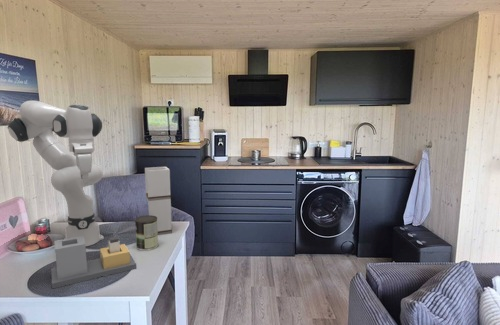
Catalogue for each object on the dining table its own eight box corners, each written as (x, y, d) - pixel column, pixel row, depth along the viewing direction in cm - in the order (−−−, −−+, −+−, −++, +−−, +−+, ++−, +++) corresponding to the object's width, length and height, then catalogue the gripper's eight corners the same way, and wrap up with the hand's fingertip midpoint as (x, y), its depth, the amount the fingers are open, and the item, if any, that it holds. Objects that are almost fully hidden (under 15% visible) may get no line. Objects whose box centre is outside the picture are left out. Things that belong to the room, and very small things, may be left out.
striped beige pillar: (168, 227, 185) (166, 166, 179) (171, 233, 175) (169, 169, 170) (147, 229, 180) (144, 167, 175) (150, 236, 170) (147, 170, 165)
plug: (109, 260, 137) (108, 237, 136) (119, 258, 139) (117, 236, 138) (111, 264, 134) (109, 240, 132) (120, 262, 136) (119, 239, 134)
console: (51, 273, 131) (48, 240, 129) (129, 256, 146) (127, 226, 144) (52, 288, 119) (48, 252, 117) (136, 268, 135) (134, 236, 132)
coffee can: (133, 251, 152) (132, 222, 150) (139, 242, 162) (138, 215, 160) (156, 250, 153) (154, 221, 151) (160, 241, 163) (159, 214, 161)
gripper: (71, 145, 135) (73, 177, 137) (74, 149, 118) (77, 186, 120) (87, 144, 138) (90, 176, 140) (93, 148, 121) (96, 184, 123)
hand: (84, 180), depth 130 cm, fingers open, 8 cm apart
